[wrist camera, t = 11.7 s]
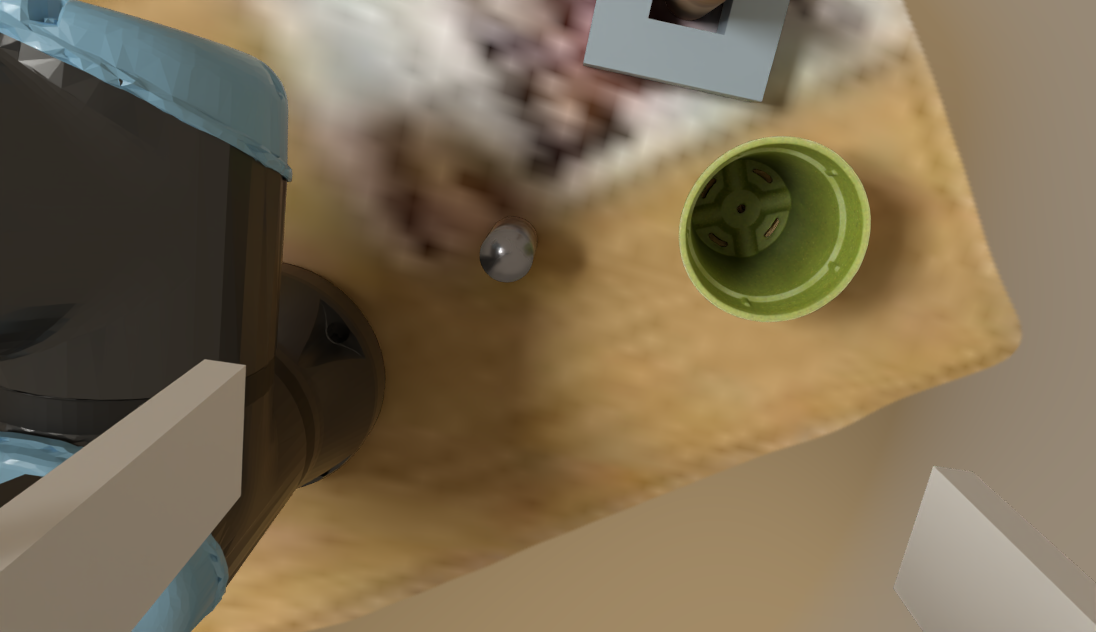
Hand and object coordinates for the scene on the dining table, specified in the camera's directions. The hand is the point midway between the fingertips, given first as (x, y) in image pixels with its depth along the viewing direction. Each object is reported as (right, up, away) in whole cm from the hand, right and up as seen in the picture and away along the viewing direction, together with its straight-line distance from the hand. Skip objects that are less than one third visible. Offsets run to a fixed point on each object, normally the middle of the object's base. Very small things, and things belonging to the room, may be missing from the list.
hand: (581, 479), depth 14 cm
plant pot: (+11, +10, +31) cm, 35 cm away
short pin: (-3, +8, +32) cm, 33 cm away
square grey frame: (+7, +21, +28) cm, 36 cm away
